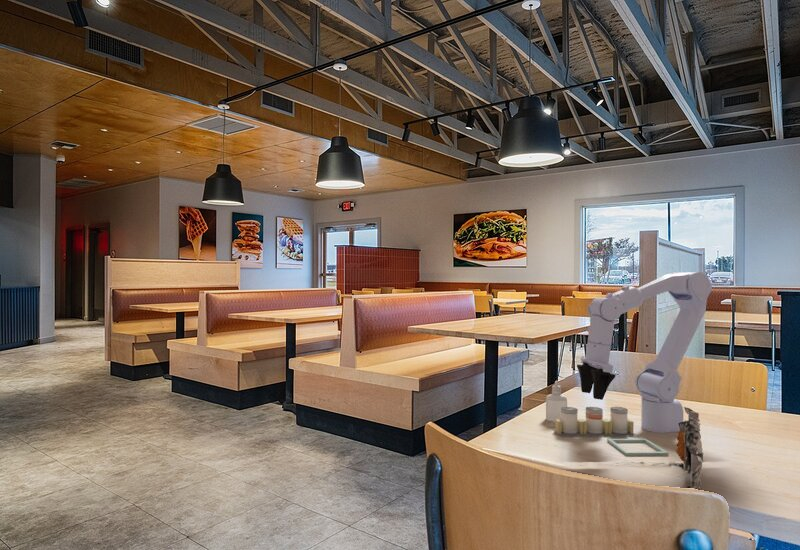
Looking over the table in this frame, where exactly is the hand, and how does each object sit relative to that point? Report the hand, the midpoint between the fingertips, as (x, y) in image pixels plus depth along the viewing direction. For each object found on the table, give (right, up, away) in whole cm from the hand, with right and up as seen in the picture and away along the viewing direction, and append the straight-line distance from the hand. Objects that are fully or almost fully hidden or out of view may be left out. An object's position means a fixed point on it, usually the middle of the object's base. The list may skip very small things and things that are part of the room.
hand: (591, 395), depth 128 cm
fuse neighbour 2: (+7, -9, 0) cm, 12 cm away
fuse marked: (+1, -9, 0) cm, 9 cm away
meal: (+9, -11, -27) cm, 31 cm away
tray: (+6, -11, -12) cm, 17 cm away
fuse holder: (+1, -11, 0) cm, 11 cm away
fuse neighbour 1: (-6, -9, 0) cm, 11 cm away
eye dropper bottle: (-6, -11, +11) cm, 16 cm away
